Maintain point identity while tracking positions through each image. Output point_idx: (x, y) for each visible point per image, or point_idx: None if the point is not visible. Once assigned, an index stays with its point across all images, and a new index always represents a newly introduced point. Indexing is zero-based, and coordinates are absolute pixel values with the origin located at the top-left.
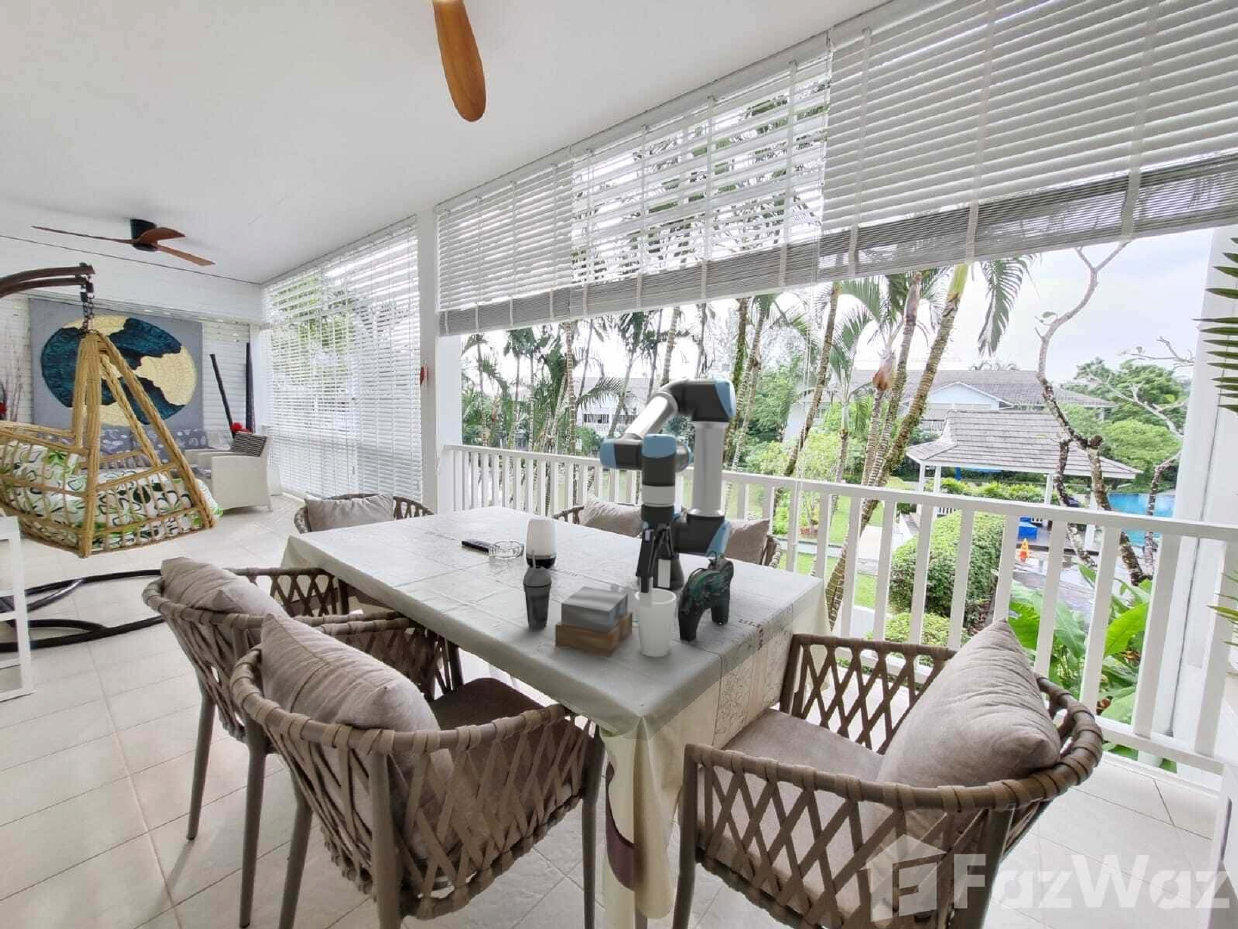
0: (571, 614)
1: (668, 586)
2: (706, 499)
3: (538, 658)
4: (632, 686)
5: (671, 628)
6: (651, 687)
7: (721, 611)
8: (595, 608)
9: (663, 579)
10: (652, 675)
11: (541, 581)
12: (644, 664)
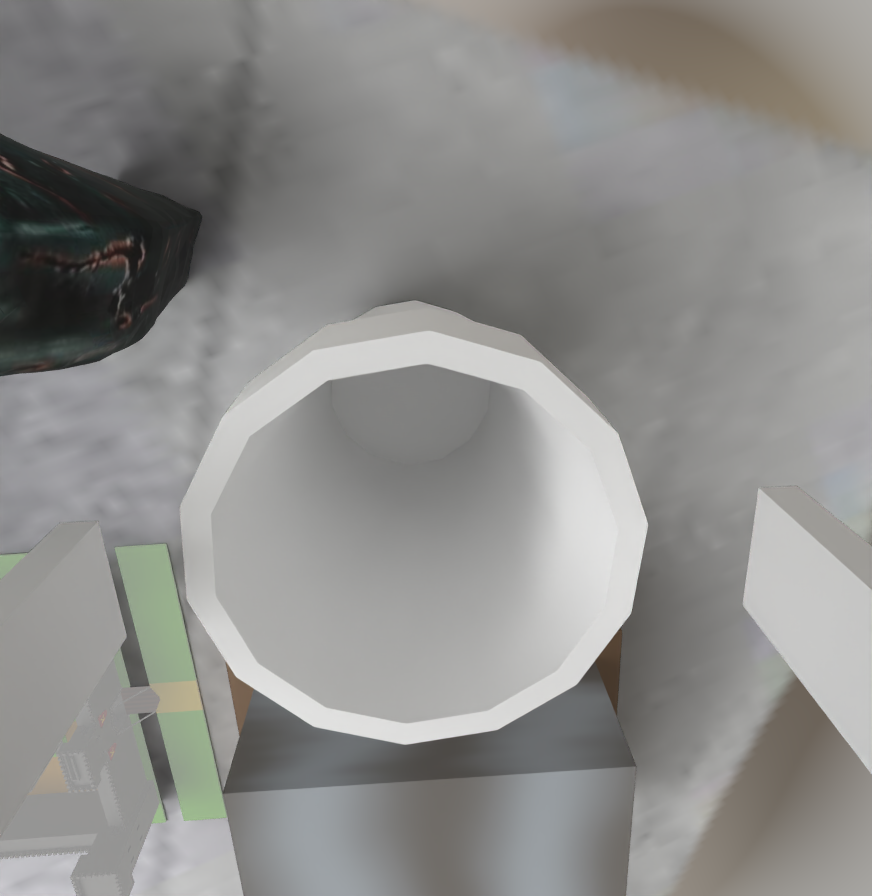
0: None
1: (89, 532)
2: None
3: (712, 802)
4: (833, 347)
5: (380, 313)
6: (818, 250)
7: None
8: (618, 852)
9: (68, 638)
10: (695, 290)
11: None
12: (594, 375)
